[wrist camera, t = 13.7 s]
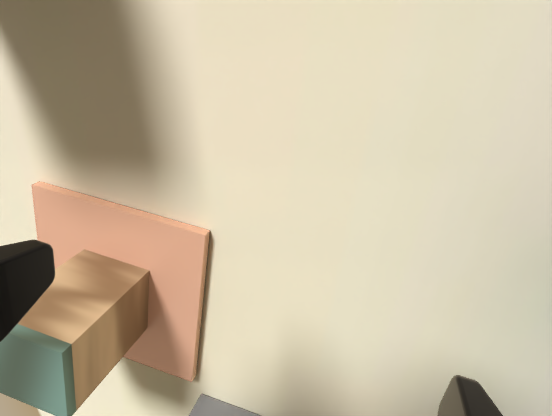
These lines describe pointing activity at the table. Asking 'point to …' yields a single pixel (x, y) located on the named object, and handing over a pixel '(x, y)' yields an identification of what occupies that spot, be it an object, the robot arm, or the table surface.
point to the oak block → (75, 333)
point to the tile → (142, 253)
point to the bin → (217, 408)
